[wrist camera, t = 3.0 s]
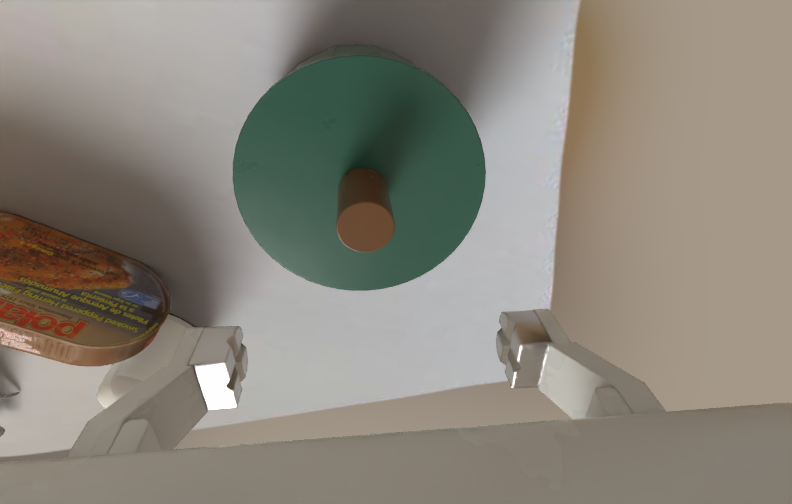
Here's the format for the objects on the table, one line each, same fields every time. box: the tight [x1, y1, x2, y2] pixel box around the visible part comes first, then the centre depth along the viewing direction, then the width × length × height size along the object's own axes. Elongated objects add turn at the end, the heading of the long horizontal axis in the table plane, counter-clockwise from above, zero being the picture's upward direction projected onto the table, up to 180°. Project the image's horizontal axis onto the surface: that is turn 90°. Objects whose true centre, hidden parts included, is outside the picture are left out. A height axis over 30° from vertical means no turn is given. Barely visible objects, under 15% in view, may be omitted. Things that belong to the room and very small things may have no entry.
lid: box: [233, 53, 486, 290], centre depth 21 cm, size 13×13×5 cm
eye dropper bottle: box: [97, 314, 194, 409], centre depth 31 cm, size 4×6×12 cm
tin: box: [0, 212, 170, 366], centre depth 28 cm, size 15×3×8 cm, turn 57°
